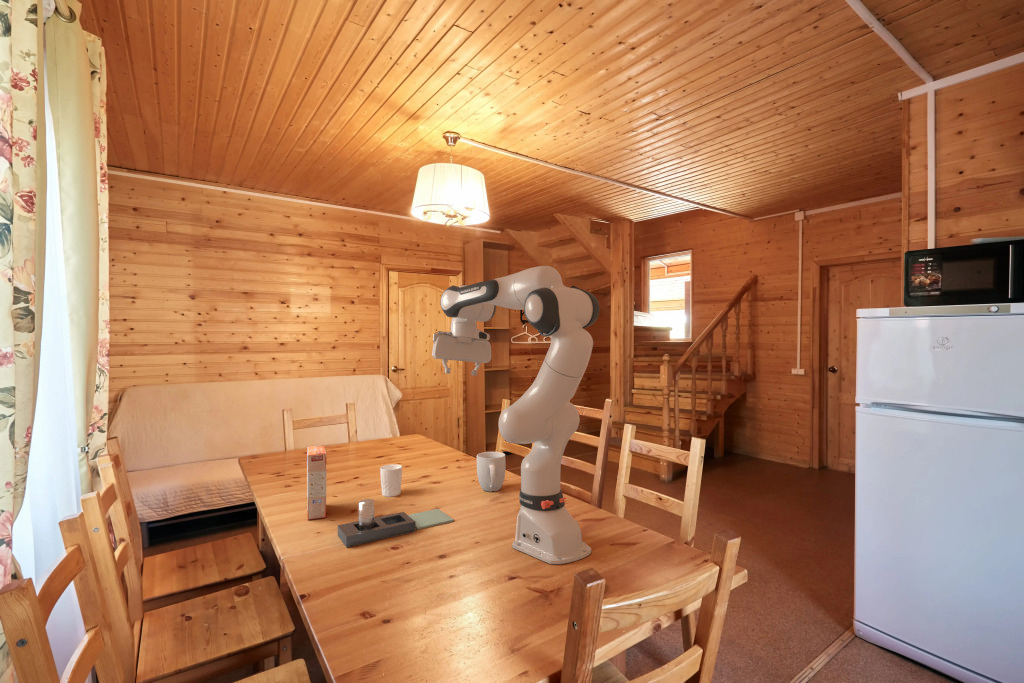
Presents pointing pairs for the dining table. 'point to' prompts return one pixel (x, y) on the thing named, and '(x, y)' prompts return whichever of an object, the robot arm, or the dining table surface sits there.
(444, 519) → the mat
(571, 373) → the robot arm
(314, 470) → the cracker box
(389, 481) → the white cup
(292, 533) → the dining table surface
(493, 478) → the mug
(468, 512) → the dining table surface
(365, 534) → the grey socket block
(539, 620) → the dining table surface
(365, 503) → the steel peg
